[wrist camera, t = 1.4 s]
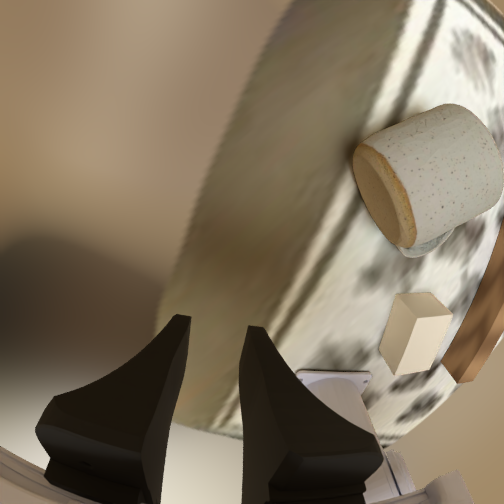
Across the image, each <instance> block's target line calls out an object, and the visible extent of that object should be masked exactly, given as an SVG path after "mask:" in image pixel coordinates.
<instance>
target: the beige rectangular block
mask: <svg viewBox="0 0 504 504" xmlns="http://www.w3.org/2000/svg"><path fill="white" fill-rule="evenodd" d="M452 316H453V314H452V313H451V312H450V311H449V310H448V309H447V308H446V307H445V306H444V305H443V304H442V303H441V302H440V301H439V300H438V299H437V298H436V297H435V296H434V295H433V294H432V293H408V294H396V295H395V299H394V302H393V306H392V309H391V313H390V316H389V319H388V322H387V325H386V328H385V331H384V334H383V337H382V340H381V343H380V346H379V351H380V353H381V354H382V356H383V358H384V360H385V361H386V363H387V365H388V366H389V368H390V370H391V372H392V373H393V375H394V376H398V375H404V374H409V373H415V372H420V371H425V370H429V369H430V367H431V365H432V363H433V361H434V358H435V356H436V354H437V352H438V350H439V348H440V345H441V343H442V341H443V339H444V336H445V334H446V331H447V329H448V327H449V324H450V322H451V319H452Z"/></svg>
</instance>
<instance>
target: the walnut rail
mask: <svg viewBox="0 0 504 504" xmlns="http://www.w3.org/2000/svg"><path fill="white" fill-rule="evenodd" d="M503 330H504V218H503V222H502V225H501V229H500V232H499V235H498V238H497V241H496V244H495V247H494V250H493V253H492V256H491V258H490V261H489V264H488V266H487V269H486V272H485V274H484V277H483V279H482V281H481V284H480V286H479V288H478V291H477V293H476V295H475V298H474V300H473V302H472V304H471V306H470V308H469V310H468V312H467V315H466V317H465V319H464V321H463V323H462V324H461V326H460V328H459V330H458V332H457V334H456V336H455V338H454V339H453V341H452V343H451V345H450V347H449V348H448V350H447V352H446V354H445V355H444V357H443V359H442V360H441V362H442V364H443V365H444V366H445V368H446V369H447V370H448V372H449V373H450V374H451V376H452V377H453V379H454V380H455V381H456V383H457V384H459V383H465V382H470V381H473V380H474V378H475V377H476V375H477V374H478V372H479V371H480V369H481V368H482V366H483V365H484V363H485V361H486V360H487V358H488V357H489V355H490V353H491V352H492V350H493V348H494V347H495V345H496V343H497V341H498V340H499V338H500V336H501V334H502V332H503Z"/></svg>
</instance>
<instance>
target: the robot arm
mask: <svg viewBox="0 0 504 504" xmlns="http://www.w3.org/2000/svg"><path fill="white" fill-rule="evenodd" d="M190 325H191V317H190V316H185V315H179V314H176V315H174V316H173V317H172V319H171V320H170V321H169V323H168V324H167V325H166V326H165V327H164V328H163V330H162V331H161V332H160V333H159V334H158V335H157V336H156V337H155V338H154V339H153V340H152V341H151V342H150V343H149V344H148V345H147V346H146V347H145V348H144V349H143V350H141V352H139V353H138V354H137V355H136V356H134V357H133V358H132V359H130V360H129V361H128V362H127V363H125V364H124V365H122V366H121V367H119V368H118V369H116V370H114V371H113V372H111V373H110V374H108V375H106V376H104V377H103V378H101V379H99V380H97V381H94V382H92V383H90V384H88V385H86V386H84V387H81V388H79V389H76V390H73V391H70V392H67V393H63V394H60V395H57V396H54V397H53V399H52V400H51V401H50V403H49V404H48V405H47V407H46V408H45V410H44V412H43V414H42V416H41V418H40V420H39V422H38V424H37V426H36V427H35V433H36V435H37V437H38V440H39V441H40V443H41V445H42V446H43V447H44V449H45V451H46V452H47V453H48V455H49V456H50V461H49V463H48V466H47V468H46V470H44V469H42V468H40V467H38V466H36V465H34V464H32V463H30V462H28V461H26V460H24V459H22V458H20V457H18V456H17V455H15V454H13V453H11V452H10V451H8V450H6V449H5V448H3V447H1V446H0V504H160V502H161V492H162V482H163V473H164V465H165V457H166V449H167V442H168V437H169V430H170V425H171V420H172V416H173V413H174V409H175V406H176V402H177V399H178V395H179V392H180V388H181V385H182V381H183V378H184V373H185V367H186V361H187V355H188V345H189V335H190ZM371 378H372V374H371V373H370V372H325V371H304V370H302V371H298V372H297V373H296V375H295V374H294V373H293V371H292V370H291V369H290V368H289V366H288V365H287V364H286V362H285V361H284V359H283V358H282V356H281V355H280V353H279V352H278V350H277V349H276V347H275V346H274V344H273V342H272V341H271V339H270V337H269V336H268V334H267V332H266V330H265V329H264V328H263V327H257V326H249V325H248V329H247V333H246V337H245V342H244V346H243V350H242V354H241V358H240V363H239V393H240V403H241V413H242V423H243V482H242V503H241V504H475V503H474V501H473V499H472V497H471V495H470V493H469V490H468V488H467V486H466V484H465V482H464V480H463V478H462V476H461V474H460V472H459V470H455V471H452V472H450V473H447V474H445V475H442V476H440V477H438V478H436V479H434V480H433V481H432V482H430V483H429V484H428V485H427V486H426V487H425V488H423V489H420V490H417V491H416V488H415V486H414V483H413V481H412V478H411V476H410V474H409V471H408V469H407V466H406V464H405V462H404V459H403V457H402V455H401V453H400V452H397V451H394V450H390V451H388V452H386V453H387V456H388V458H387V456H386V454H385V452H384V450H383V448H382V446H381V444H380V442H379V439H378V437H377V434H376V432H375V429H374V427H373V424H372V422H371V420H370V417H369V415H368V412H367V410H366V407H365V405H364V403H363V400H362V398H361V395H362V393H363V392H364V390H365V388H366V387H367V385H368V383H369V382H370V380H371ZM388 459H389V460H388Z"/></svg>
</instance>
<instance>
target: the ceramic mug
mask: <svg viewBox="0 0 504 504" xmlns="http://www.w3.org/2000/svg"><path fill="white" fill-rule="evenodd" d="M353 171H354V175H355V179H356V182H357V185H358V188H359V190H360V193H361V196H362V198H363V200H364V202H365V204H366V207H367V209H368V210H369V212H370V214H371V216H372V218H373V219H374V221H375V223H376V224H377V226H378V228H379V229H380V230H381V232H382V233H383V234H384V236H385V237H386V238H387V239H388V240H389V241H390V242H391V243H393V244H395V245H396V246H397V248H398V249H399V250H400V252H401V253H402V254H403V255H404V256H406V257H409V258H416V257H420V256H423V255H426V254H428V253H430V252H432V251H433V250H435V249H436V248H437V247H439V246H440V245H441V244H442V243H443V242H444V241H445V240H446V239H447V238H448V237H449V236H450V234H451V233H452V231H453V230H454V228H455V227H457V226H458V225H461V224H463V223H465V222H467V221H469V220H470V219H472V218H474V217H476V216H478V215H480V214H482V213H484V212H485V211H487V210H489V209H491V208H492V207H493V206H494V205H495V204H496V203H497V202H498V200H499V199H500V196H501V193H502V190H503V185H504V173H503V164H502V160H501V156H500V153H499V150H498V148H497V145H496V143H495V141H494V139H493V137H492V135H491V134H490V132H489V130H488V129H487V128H486V126H485V125H484V124H483V123H482V122H481V120H480V119H479V118H478V117H477V116H476V115H474V114H473V113H472V112H471V111H469V110H468V109H466V108H464V107H462V106H460V105H456V104H443V105H440V106H437V107H435V108H433V109H431V110H428V111H426V112H423V113H421V114H418V115H416V116H413V117H411V118H409V119H407V120H405V121H403V122H400V123H398V124H396V125H393V126H391V127H388V128H386V129H384V130H381V131H379V132H377V133H375V134H373V135H371V136H370V137H368V138H367V139H366V140H364V141H363V142H361V143H360V144H359V145H358V146H357V147H356V149H355V151H354V155H353Z"/></svg>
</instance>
